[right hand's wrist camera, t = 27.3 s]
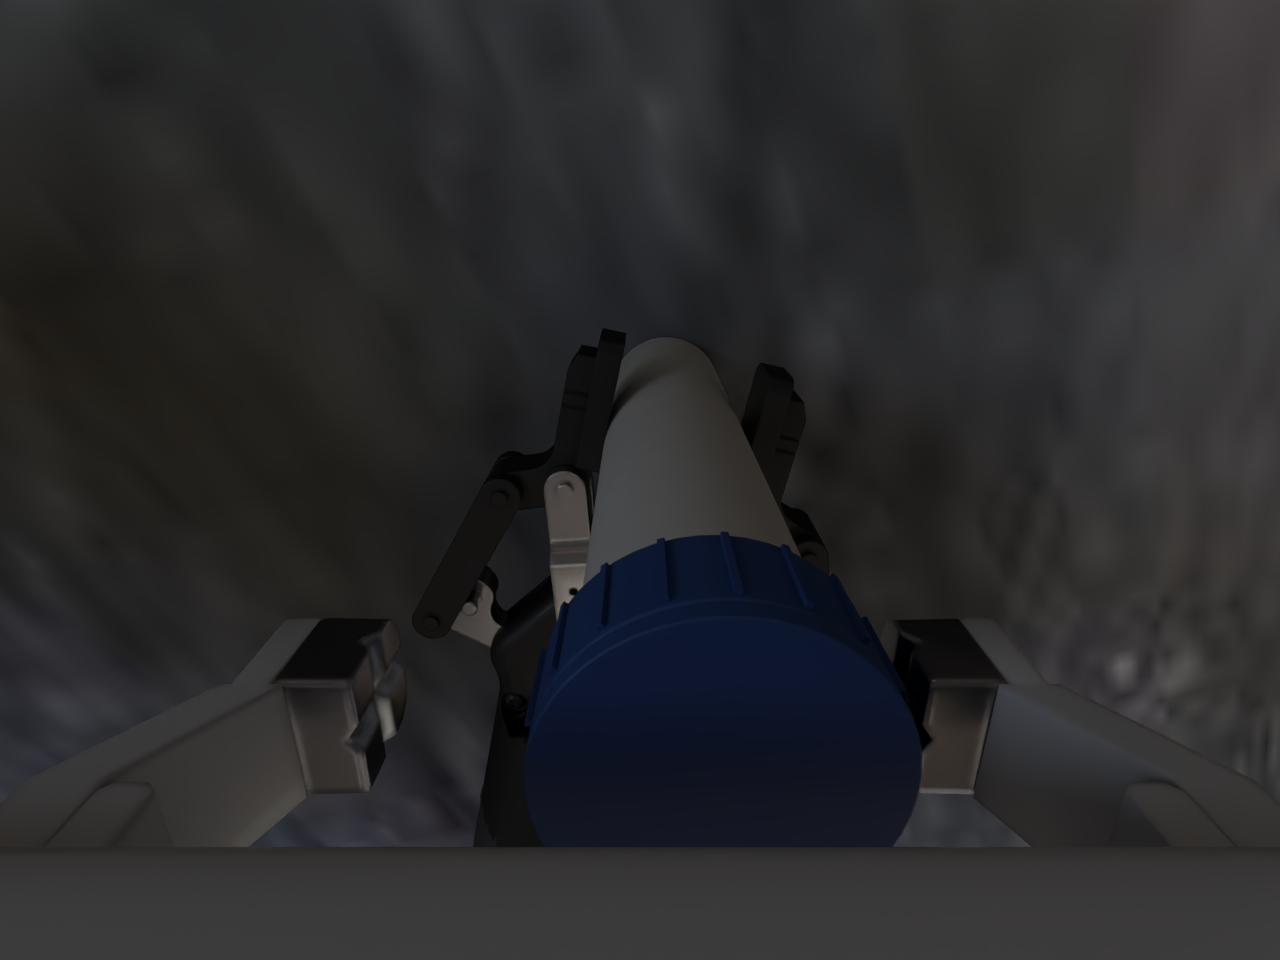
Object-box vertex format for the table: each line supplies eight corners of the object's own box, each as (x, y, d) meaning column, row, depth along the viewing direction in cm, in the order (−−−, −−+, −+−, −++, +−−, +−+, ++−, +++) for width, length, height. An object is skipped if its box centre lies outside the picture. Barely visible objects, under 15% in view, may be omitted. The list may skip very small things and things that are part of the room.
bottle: (696, 320, 26) (817, 559, 8) (732, 418, 27) (899, 800, 10) (596, 360, 27) (511, 664, 9) (635, 454, 28) (630, 878, 10)
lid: (659, 462, 9) (666, 532, 7) (944, 639, 10) (1017, 743, 8) (479, 716, 11) (443, 831, 9) (743, 848, 12) (764, 979, 10)
